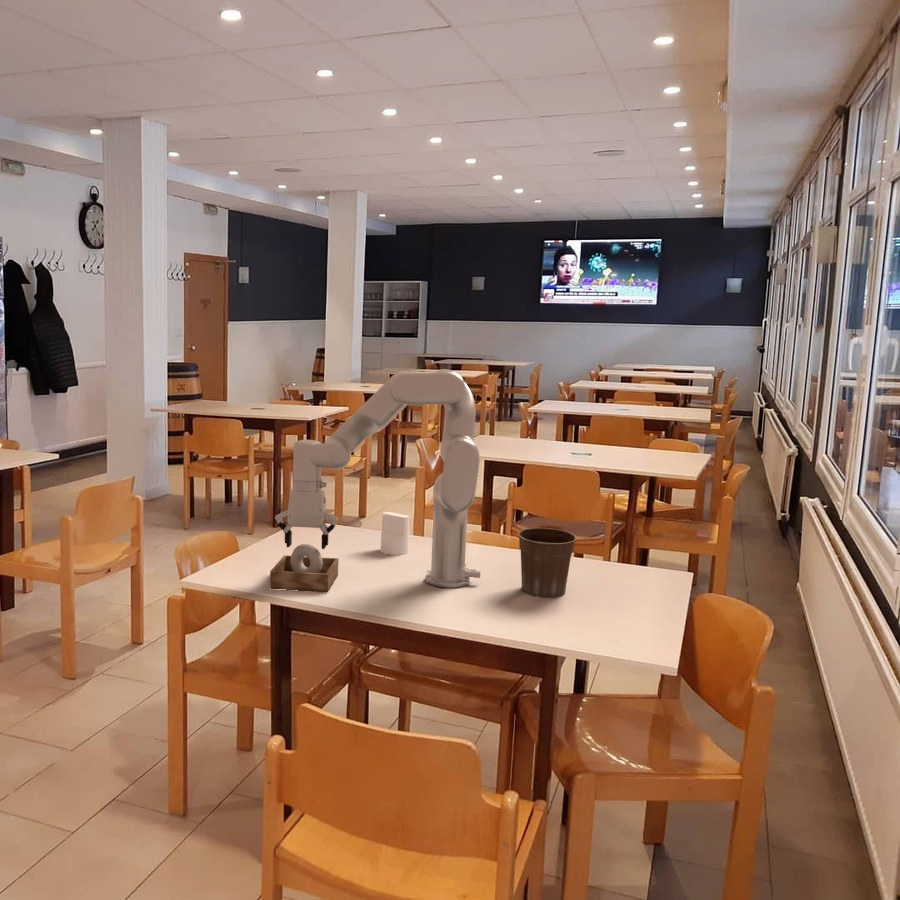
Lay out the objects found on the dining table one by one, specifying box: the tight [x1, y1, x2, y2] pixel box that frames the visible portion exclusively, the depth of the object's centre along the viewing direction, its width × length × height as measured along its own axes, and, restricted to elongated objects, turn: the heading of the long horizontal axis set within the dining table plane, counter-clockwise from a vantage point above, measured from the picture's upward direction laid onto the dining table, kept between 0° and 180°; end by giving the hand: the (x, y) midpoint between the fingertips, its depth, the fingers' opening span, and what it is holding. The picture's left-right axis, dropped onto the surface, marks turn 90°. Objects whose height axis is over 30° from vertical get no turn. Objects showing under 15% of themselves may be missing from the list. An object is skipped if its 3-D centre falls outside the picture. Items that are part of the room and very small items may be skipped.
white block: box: [380, 511, 411, 556], centre depth 263 cm, size 9×9×12 cm
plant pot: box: [517, 527, 578, 598], centre depth 230 cm, size 16×16×16 cm
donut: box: [290, 543, 323, 573], centre depth 228 cm, size 10×3×10 cm, turn 64°
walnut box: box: [269, 555, 339, 593], centre depth 229 cm, size 16×16×5 cm
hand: (306, 546), depth 228 cm, fingers open, 9 cm apart
